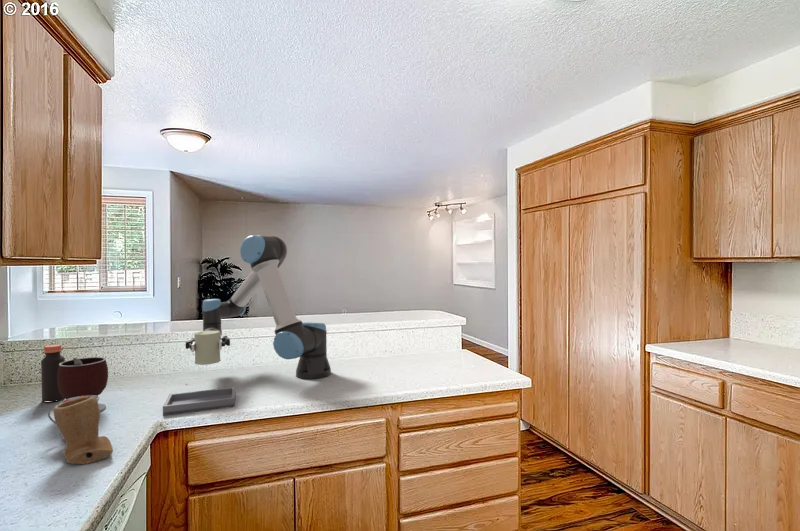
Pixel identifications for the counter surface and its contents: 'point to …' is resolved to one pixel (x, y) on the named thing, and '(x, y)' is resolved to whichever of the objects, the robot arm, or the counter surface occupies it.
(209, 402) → the tray
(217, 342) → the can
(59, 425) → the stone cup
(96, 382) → the mate gourd
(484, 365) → the counter surface
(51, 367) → the bottle
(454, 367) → the counter surface
